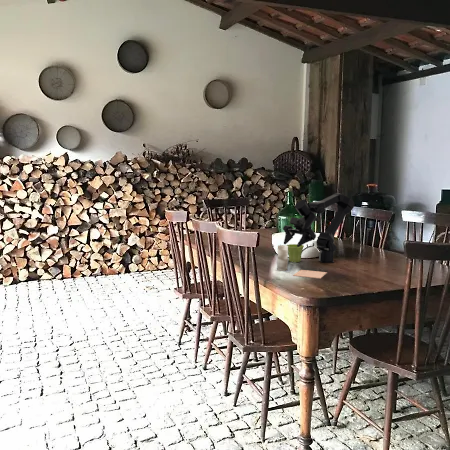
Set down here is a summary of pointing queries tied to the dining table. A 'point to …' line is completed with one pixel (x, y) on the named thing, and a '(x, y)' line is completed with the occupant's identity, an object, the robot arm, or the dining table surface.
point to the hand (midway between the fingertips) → (290, 245)
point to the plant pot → (295, 252)
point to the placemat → (310, 274)
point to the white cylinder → (282, 258)
